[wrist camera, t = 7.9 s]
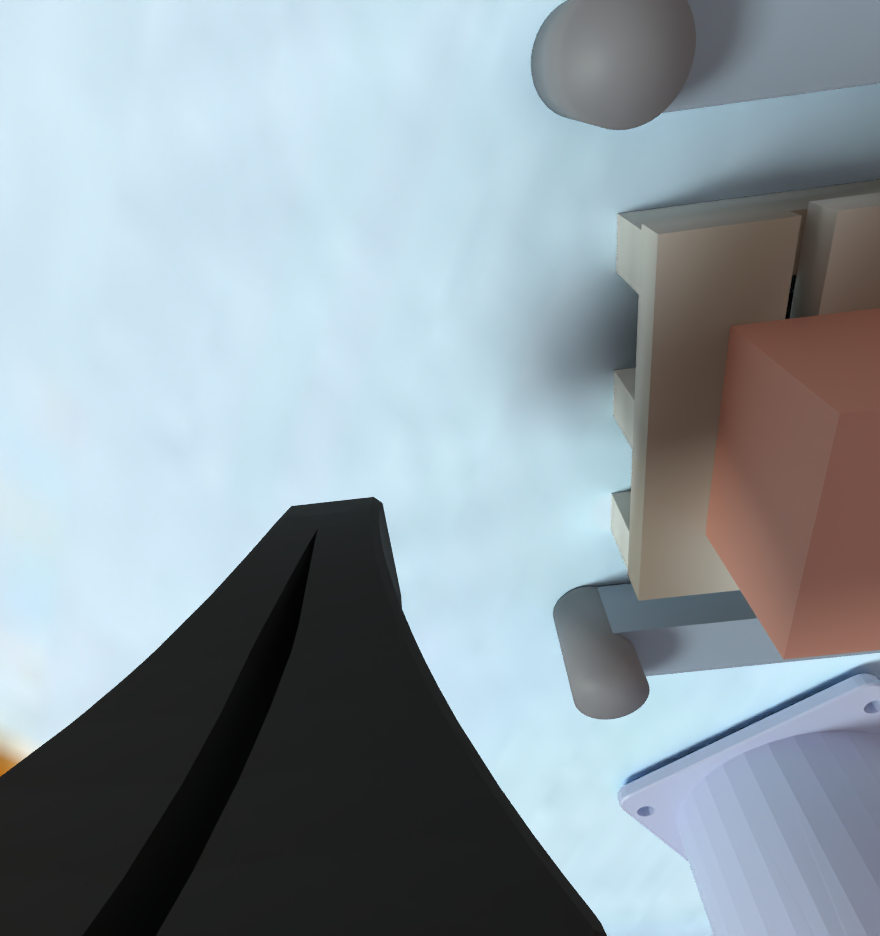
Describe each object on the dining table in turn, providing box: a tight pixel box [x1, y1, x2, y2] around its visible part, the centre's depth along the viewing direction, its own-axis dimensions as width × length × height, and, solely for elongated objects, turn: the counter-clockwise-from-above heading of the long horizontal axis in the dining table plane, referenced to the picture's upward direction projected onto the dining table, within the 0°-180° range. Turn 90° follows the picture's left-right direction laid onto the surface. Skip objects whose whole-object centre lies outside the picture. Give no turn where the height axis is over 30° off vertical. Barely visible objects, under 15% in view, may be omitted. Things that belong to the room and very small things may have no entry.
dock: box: [531, 0, 880, 719], centre depth 12 cm, size 11×13×2 cm
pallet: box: [611, 179, 880, 601], centre depth 12 cm, size 7×7×2 cm
